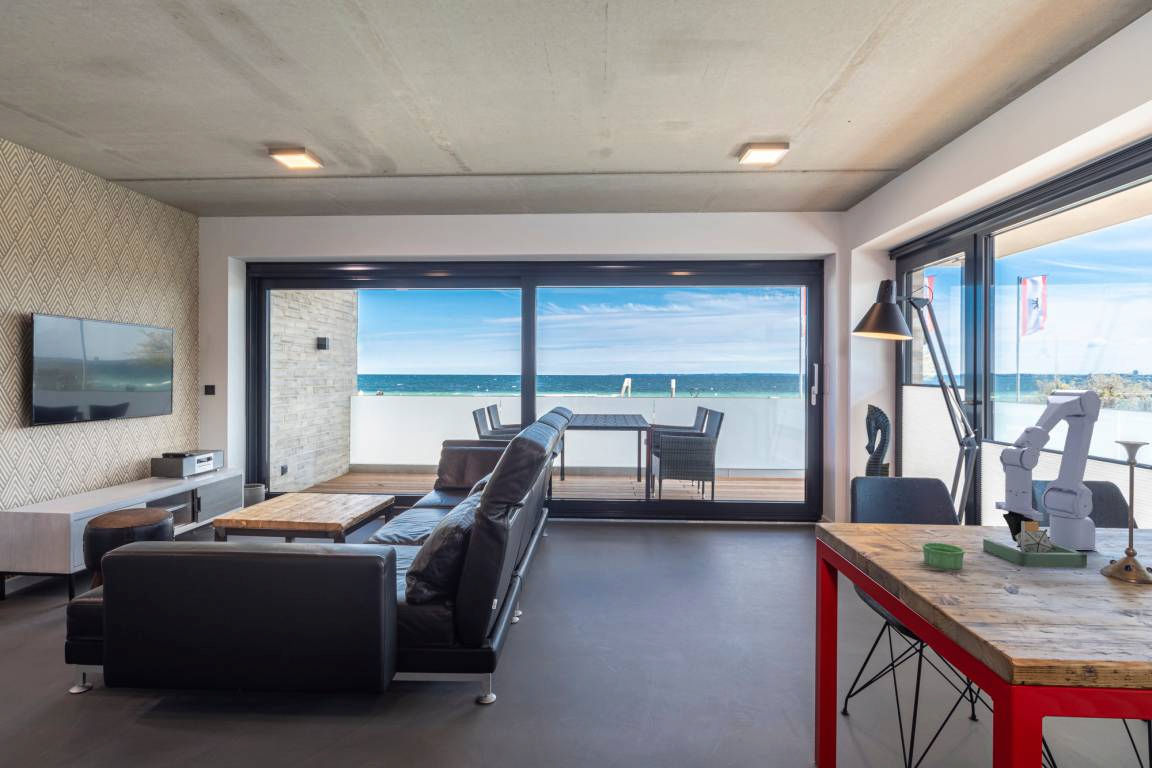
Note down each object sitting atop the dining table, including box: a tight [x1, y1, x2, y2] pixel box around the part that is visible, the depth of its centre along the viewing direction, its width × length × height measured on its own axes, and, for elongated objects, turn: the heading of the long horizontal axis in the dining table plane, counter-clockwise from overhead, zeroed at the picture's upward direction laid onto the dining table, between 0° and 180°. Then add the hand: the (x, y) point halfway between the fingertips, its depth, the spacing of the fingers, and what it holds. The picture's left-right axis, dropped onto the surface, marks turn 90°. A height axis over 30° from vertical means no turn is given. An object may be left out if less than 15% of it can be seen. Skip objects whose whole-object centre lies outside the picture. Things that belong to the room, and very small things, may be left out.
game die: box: [1010, 529, 1057, 553], centre depth 151 cm, size 9×8×10 cm
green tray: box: [982, 521, 1088, 567], centre depth 150 cm, size 16×14×11 cm
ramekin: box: [921, 542, 965, 570], centre depth 145 cm, size 9×9×4 cm
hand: (1017, 541), depth 155 cm, fingers closed
